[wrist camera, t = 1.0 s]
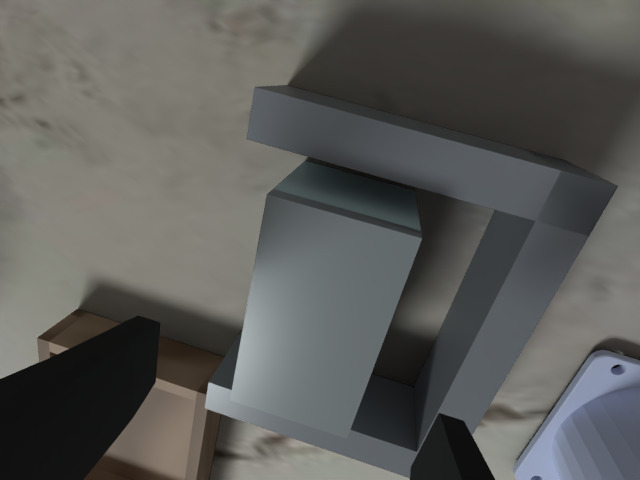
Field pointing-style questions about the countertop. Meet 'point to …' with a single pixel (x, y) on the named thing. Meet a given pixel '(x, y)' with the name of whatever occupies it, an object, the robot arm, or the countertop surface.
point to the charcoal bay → (479, 281)
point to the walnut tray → (154, 409)
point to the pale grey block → (323, 294)
